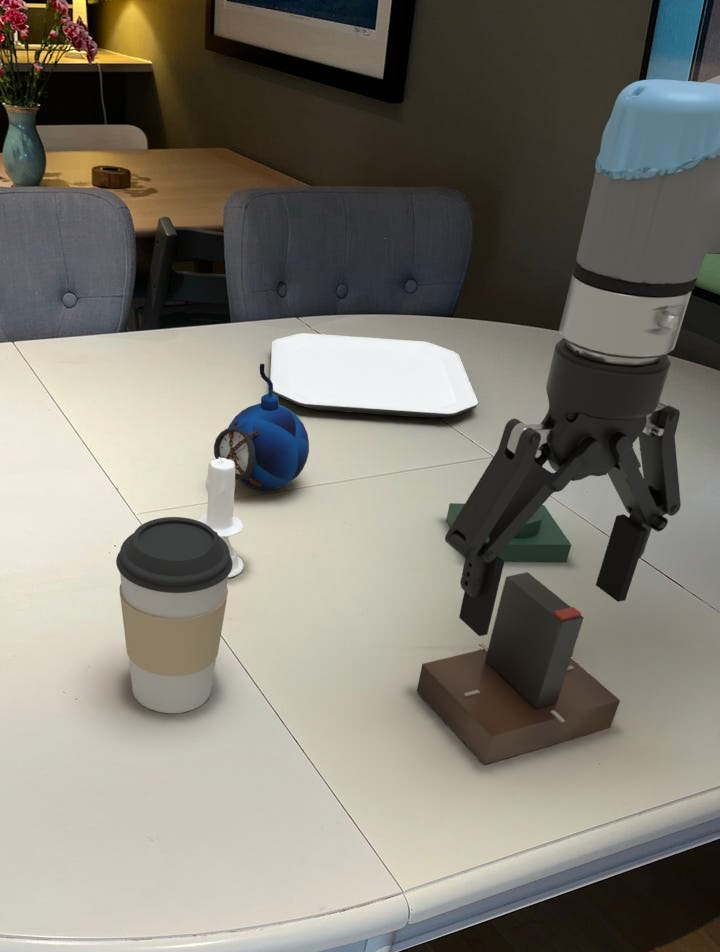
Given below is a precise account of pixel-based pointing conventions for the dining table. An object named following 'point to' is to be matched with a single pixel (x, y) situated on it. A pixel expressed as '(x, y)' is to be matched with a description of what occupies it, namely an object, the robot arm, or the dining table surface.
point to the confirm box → (530, 538)
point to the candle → (223, 506)
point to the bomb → (265, 443)
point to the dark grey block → (533, 639)
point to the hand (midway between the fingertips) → (543, 609)
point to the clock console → (511, 707)
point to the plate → (370, 375)
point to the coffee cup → (173, 610)
